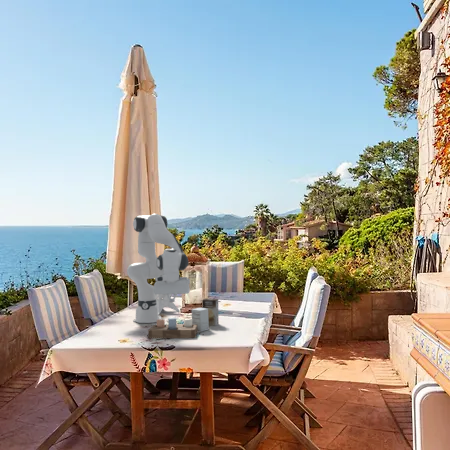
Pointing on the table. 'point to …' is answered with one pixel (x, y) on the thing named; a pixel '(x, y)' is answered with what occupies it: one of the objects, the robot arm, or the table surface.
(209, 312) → the coffee box
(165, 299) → the starfish
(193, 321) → the supplement box
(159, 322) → the tan rounded short cylinder
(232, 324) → the table surface
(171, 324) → the key slate
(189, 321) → the cream egg-shaped piece
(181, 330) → the tray
